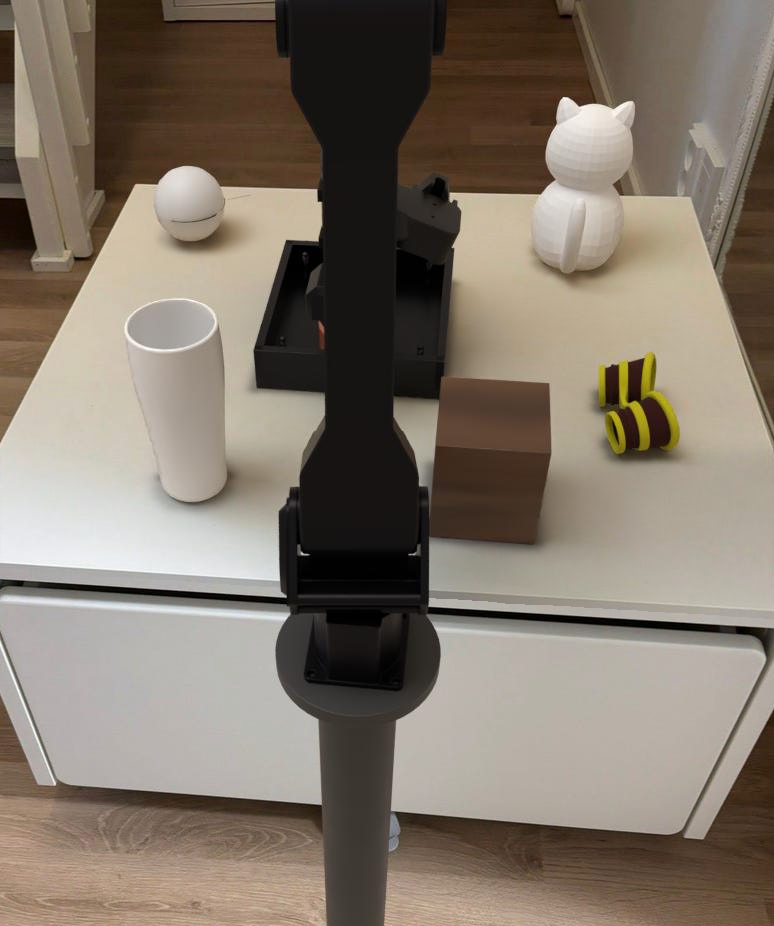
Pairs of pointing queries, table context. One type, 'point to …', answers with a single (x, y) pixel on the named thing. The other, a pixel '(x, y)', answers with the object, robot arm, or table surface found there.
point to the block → (490, 459)
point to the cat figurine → (583, 186)
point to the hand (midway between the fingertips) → (355, 331)
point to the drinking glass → (181, 393)
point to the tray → (297, 337)
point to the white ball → (189, 203)
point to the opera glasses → (636, 407)
